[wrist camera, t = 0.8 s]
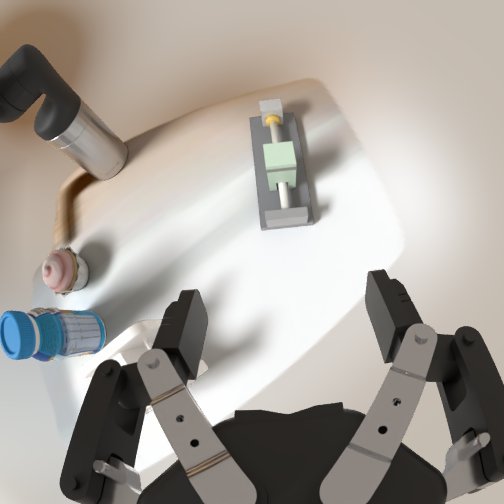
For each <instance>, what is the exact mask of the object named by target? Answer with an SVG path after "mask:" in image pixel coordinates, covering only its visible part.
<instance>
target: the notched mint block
mask: <svg viewBox="0 0 504 504" xmlns="http://www.w3.org/2000/svg"><path fill="white" fill-rule="evenodd" d="M263 151H264V159H265V167H266V173H267V177H268V183H269V188H270V191H274V190H277V186H276V183H283V182H288V189H292V188H296V170H297V165H296V159H295V153H294V147H293V142H292V141H289V142H280V143H271V144H263Z"/></svg>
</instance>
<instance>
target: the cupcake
mask: <svg viewBox="0 0 504 504" xmlns="http://www.w3.org/2000/svg"><path fill="white" fill-rule="evenodd" d="M42 275H43V279H44V281H45V283H46V284H47V285H48V286H49V287H50V288H51V289H52V290H53V291H54V292H55V295H59V294H61V295H62V296H63V297H65V296H66V295H68V294H69V293H71V292H74V291H78V290H81V289H82V288H83V287H84V286H85V285H86V283H87V281H88V277H89V270H88V266H87V264H86V262H85V261H84V260H83V259H82V258H80V257H79V256H78V255H77V254H76V253H74V251H73V250H72V249H71V247H67V248H66V249H65V248H64V247H61V248H60V249H59V250H55V251H53V252H52V253H50V255H49V256H48V257H47V258H46V259H45V261H44V263H43V271H42Z"/></svg>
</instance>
